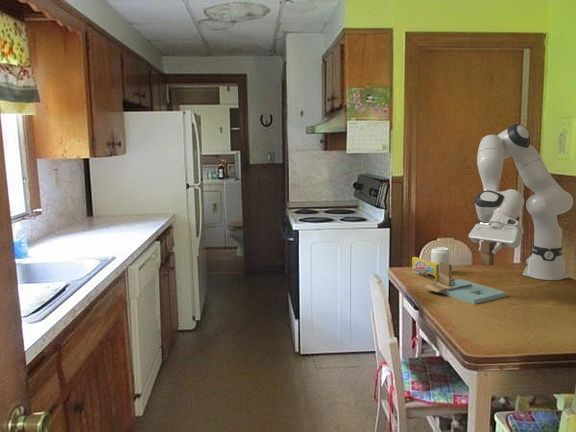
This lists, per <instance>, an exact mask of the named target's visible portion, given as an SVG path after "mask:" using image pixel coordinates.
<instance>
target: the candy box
mask: <svg viewBox="0 0 576 432" xmlns="http://www.w3.org/2000/svg"><path fill="white" fill-rule="evenodd" d="M411 268H412V269H411V274H412V275H414V274H415V275H414V276H417V275H418V276H417V277H421V278H424V279H426V280H429V281H433V282H434V283H435V282H439V279H440V275H439V264H437V263H434V262H431V260H426V259H424V258H420V257H417V256H413V257H412V259H411Z"/></svg>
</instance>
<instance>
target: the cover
mask: <svg viewBox="0 0 576 432" xmlns="http://www.w3.org/2000/svg"><path fill="white" fill-rule="evenodd" d="M452 267H453V265H452V263H449V264H448V263H444V262H440V275H439V282H438V283H435V282H432V283H433V284H430V283H428V284H424V285H423V286H422V287H423V288H424V289H426V290H430V291H431V292H432V291H433V292H436V293H439V292H441V291H446V290H447V289H449V288H454V287H453V286H451V279H452V274H453V273H452V272H453V271H452V269H453V268H452Z"/></svg>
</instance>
